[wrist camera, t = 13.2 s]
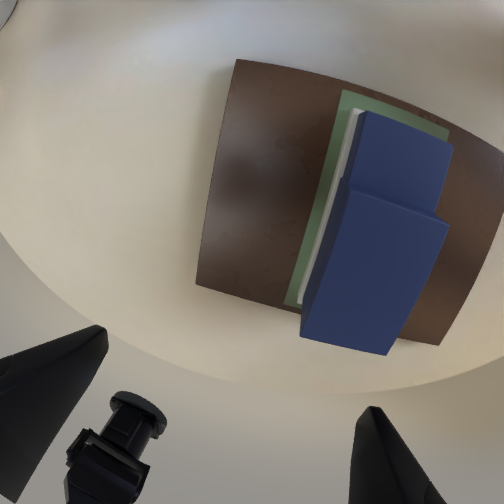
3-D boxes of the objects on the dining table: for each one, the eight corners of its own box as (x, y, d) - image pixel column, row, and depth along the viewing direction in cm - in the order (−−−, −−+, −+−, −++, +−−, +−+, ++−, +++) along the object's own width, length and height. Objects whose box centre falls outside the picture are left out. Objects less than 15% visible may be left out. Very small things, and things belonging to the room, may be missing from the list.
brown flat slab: (434, 336, 18) (439, 347, 17) (201, 276, 20) (194, 285, 19) (507, 159, 13) (518, 162, 12) (241, 63, 14) (235, 58, 13)
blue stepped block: (372, 312, 17) (385, 364, 13) (297, 293, 18) (291, 343, 13) (434, 141, 13) (478, 147, 8) (350, 109, 13) (367, 98, 9)
